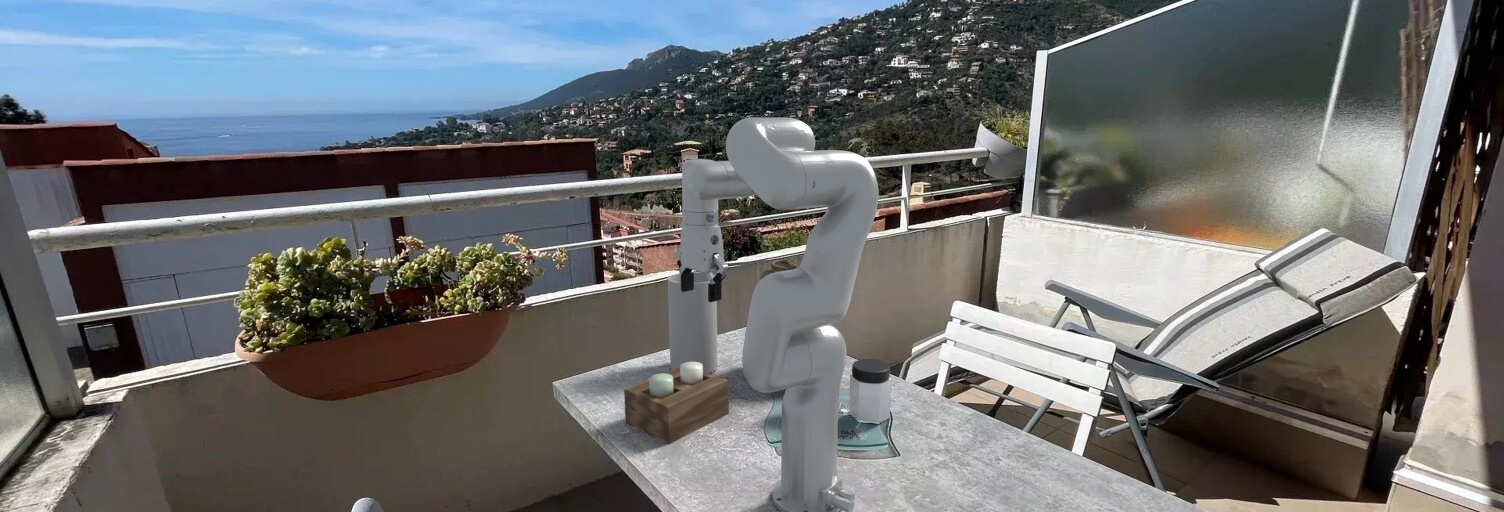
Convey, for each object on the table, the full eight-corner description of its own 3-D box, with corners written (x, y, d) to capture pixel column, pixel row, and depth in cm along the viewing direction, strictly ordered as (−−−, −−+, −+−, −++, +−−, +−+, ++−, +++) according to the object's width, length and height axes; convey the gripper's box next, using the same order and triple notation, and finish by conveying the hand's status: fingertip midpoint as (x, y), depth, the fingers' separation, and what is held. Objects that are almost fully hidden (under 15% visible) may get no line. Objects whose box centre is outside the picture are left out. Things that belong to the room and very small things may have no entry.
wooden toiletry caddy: (728, 413, 143) (728, 380, 142) (669, 443, 130) (668, 407, 128) (685, 396, 152) (684, 365, 151) (625, 423, 139) (624, 389, 137)
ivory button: (707, 382, 143) (707, 365, 142) (691, 389, 139) (691, 371, 139) (691, 376, 146) (691, 360, 146) (676, 383, 143) (675, 366, 142)
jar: (843, 410, 145) (845, 360, 142) (875, 405, 147) (877, 356, 145) (861, 427, 136) (863, 375, 134) (895, 422, 139) (897, 370, 136)
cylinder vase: (721, 375, 165) (719, 282, 160) (672, 379, 162) (669, 284, 157) (713, 358, 177) (712, 271, 172) (668, 362, 174) (665, 273, 169)
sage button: (678, 394, 136) (677, 377, 136) (660, 402, 133) (660, 384, 132) (662, 388, 140) (662, 371, 139) (645, 396, 136) (644, 378, 135)
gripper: (740, 222, 131) (739, 301, 135) (690, 211, 144) (690, 284, 148) (711, 226, 126) (712, 308, 130) (662, 214, 139) (663, 290, 143)
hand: (700, 295), depth 139 cm, fingers open, 9 cm apart
